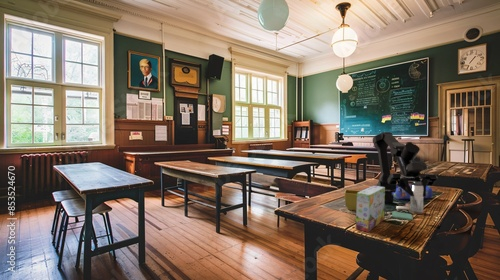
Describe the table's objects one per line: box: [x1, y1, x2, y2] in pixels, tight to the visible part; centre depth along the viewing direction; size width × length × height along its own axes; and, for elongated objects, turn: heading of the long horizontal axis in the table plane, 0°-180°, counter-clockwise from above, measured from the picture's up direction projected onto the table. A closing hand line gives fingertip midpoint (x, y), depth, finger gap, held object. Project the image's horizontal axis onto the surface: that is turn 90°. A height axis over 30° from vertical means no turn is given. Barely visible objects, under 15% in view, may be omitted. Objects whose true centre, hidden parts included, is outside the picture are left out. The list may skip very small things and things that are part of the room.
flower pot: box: [343, 189, 361, 212], centre depth 126 cm, size 9×9×9 cm
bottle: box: [409, 181, 424, 213], centre depth 106 cm, size 5×5×12 cm
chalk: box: [395, 205, 409, 211], centre depth 126 cm, size 7×2×2 cm, turn 80°
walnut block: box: [408, 203, 423, 215], centre depth 120 cm, size 4×4×4 cm
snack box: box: [355, 185, 385, 233], centre depth 104 cm, size 21×6×15 cm, turn 137°
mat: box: [391, 211, 414, 221], centre depth 115 cm, size 8×8×1 cm
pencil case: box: [392, 184, 434, 200], centre depth 148 cm, size 22×9×10 cm, turn 95°
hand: (418, 196), depth 104 cm, fingers closed on bottle, 5 cm apart
